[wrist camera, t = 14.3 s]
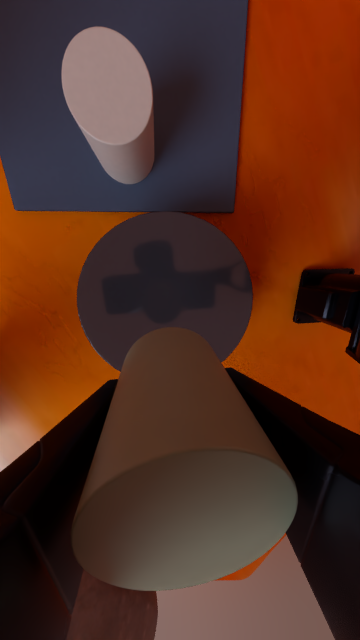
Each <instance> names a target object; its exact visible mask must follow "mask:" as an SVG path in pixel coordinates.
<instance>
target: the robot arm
mask: <svg viewBox="0 0 360 640" xmlns="http://www.w3.org/2000/svg"><path fill="white" fill-rule="evenodd" d="M306 273H307V275H306ZM354 273H355V271H354V269H350V268H347V269H309V270H304V271H303V272H302V274H301V279H300V284H299V290H298V295H297V300H296V305H295V311H294V316H293V322H295V323H298V324H299V323H315V322H323V323H326V324H328V325H331V326H333V327H336V328H339V329H341V330H344V331H347V332H349V333H351V337H350V340H349V344H348V347H346V351H345V352H346V353H347V354H348V355H349V356H351V357H352V358H353V359H354V360H356V361H357V362H358V363H359V364H360V275H354ZM297 319H298V320H297ZM225 370H226V372H227V373H228V375H229V376H230V378H231V380H232V381H233V383H234V384H235V386H236V388H237V389H238V391H239V392H240V394H241V396H242V397H243V399H244V400H245V402H246V404H247V405H248V407H249V408H250V410H251V412H252V413H253V415H254V416H255V418H256V420H257V421H258V423H259V424H260V426H261V428H262V429H263V431H264V432H265V434H266V435H267V437H268V439H269V440H270V442H271V443H272V445H273V447H274V448H275V450H276V451H277V453H278V455H279V456H280V458H281V459H282V461H283V463H284V464H285V466H286V467H287V469H288V471H289V472H290V474H291V476H292V478H293V480H294V482H295V485H296V489H297V493H298V505H297V510H296V513H295V516H294V519H293V521H292V523H291V524H290V526H289V528H288V529H287V531H286V534H287V537H288V539H289V541H290V543H291V545H292V547H293V549H294V552H295V554H296V556H297V558H298V560H299V562H300V563H301V567H302V569H303V571H304V573H305V575H306V578H307V580H308V582H309V584H310V586H311V589H312V591H313V593H314V595H315V597H316V599H317V601H318V604H319V606H320V608H321V610H322V612H323V614H324V617H325V619H326V621H327V623H328V625H329V627H330V629H331V632H332V634H333V636H334V638H335V640H360V435H358V434H356V433H354V432H352V431H350V430H348V429H346V428H344V427H342V426H340V425H338V424H336V423H333V422H331V421H329V420H327V419H326V418H324V417H322V416H320V415H318V414H316V413H314V412H312V411H310V410H308V409H307V408H305V407H301V405H299V404H297V403H295V402H294V401H292V400H290V399H288V398H286V397H284V396H283V395H281V394H279V393H277V392H275V391H273V390H271V389H270V388H268V387H266V386H264V385H262V384H260V383H259V382H257V381H255V380H253V379H251V378H249V377H248V376H246V375H244V374H242V373H240V372H238V371H236V370H235V369H233V368H225ZM117 382H118V379H114V380H109V381H107V382H106V383H105V384H104V385H103V386H102V387H100V388H99V389H98V390H97V391H96V392H95V393H93V394H92V395H91V396H90V397H89V398H88V399H86V400H85V401H84V402H83V403H82V404H81V405H79V406H78V407H77V408H76V409H75V410H74V411H72V412H71V413H70V414H69V415H68V416H67V417H65V418H64V419H63V420H62V421H61V422H60V423H58V424H57V425H56V426H55V427H54V428H53V429H51V430H50V431H49V432H48V433H47V434H45V435H44V436H43V437H42V438H41V439H40V441H37V442H36V443H35V444H34V445H33V446H31V447H30V448H29V449H28V450H27V451H25V452H24V453H23V454H22V455H21V456H19V457H18V458H17V459H16V460H15V461H13V462H12V463H11V464H10V465H9V466H7V467H6V468H5V469H4V470H2V471H1V472H0V640H66V639H67V635H68V631H69V627H70V623H71V619H72V616H71V615H72V614H73V610H74V606H75V602H76V598H77V594H78V590H79V586H80V582H81V578H82V574H83V570H84V569H83V568H82V566H81V565H80V564H79V563H78V562H77V560H76V558H75V556H74V554H73V551H72V547H71V528H72V524H73V520H74V517H75V514H76V510H77V507H78V504H79V501H80V498H81V495H82V492H83V489H84V485H85V482H86V479H87V476H88V473H89V470H90V467H91V464H92V460H93V457H94V454H95V451H96V448H97V445H98V442H99V439H100V435H101V432H102V429H103V426H104V423H105V420H106V417H107V414H108V410H109V407H110V404H111V401H112V398H113V395H114V392H115V389H116V385H117Z"/></svg>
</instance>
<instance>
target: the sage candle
mask: <svg viewBox="0 0 360 640" xmlns="http://www.w3.org/2000/svg"><path fill="white" fill-rule="evenodd" d="M297 505H298V493H297V489H296V485H295V482H294V480H293V478H292V476H291V474H290V472H289V471H288V469H287V467H286V466H285V464H284V463H283V461H282V459H281V458H280V456H279V455H278V453H277V451H276V450H275V448H274V447H273V445H272V443H271V442H270V440H269V439H268V437H267V435H266V434H265V432H264V431H263V429H262V428H261V426H260V424H259V423H258V421H257V420H256V418H255V416H254V415H253V413H252V412H251V410H250V408H249V407H248V405H247V404H246V402H245V400H244V399H243V397H242V396H241V394H240V392H239V391H238V389H237V388H236V386H235V384H234V383H233V381H232V380H231V378H230V376H229V375H228V373H227V372H226V370H225V368H224V367H223V365H222V364H221V362H220V360H219V359H218V357H217V356H216V354H215V352H214V351H213V349H212V348H211V346H210V345H209V343H208V342H207V341H206V340H205V339H204V338H203V337H202V336H200V335H199V334H197V333H195V332H193V331H191V330H188V329H184V328H178V327H167V328H161V329H157V330H154V331H151V332H149V333H147V334H146V335H144V336H142V337H141V338H140V339H138V340H137V341H136V342H135V343H134V344H133V346H132V347H131V348H130V350H129V351H128V353H127V355H126V358H125V360H124V364H123V367H122V370H121V373H120V376H119V379H118V382H117V385H116V389H115V392H114V395H113V398H112V401H111V404H110V407H109V410H108V414H107V417H106V420H105V423H104V426H103V429H102V432H101V435H100V439H99V442H98V445H97V448H96V451H95V454H94V457H93V460H92V464H91V467H90V470H89V473H88V476H87V479H86V482H85V485H84V489H83V492H82V495H81V498H80V501H79V504H78V507H77V510H76V514H75V517H74V520H73V524H72V528H71V547H72V551H73V554H74V556H75V558H76V560H77V562H78V563H79V564H80V565H81V566H82V568H83V569H84V570H86V571H87V572H88V573H89V574H91V575H92V576H94V577H96V578H97V579H99V580H101V581H103V582H106V583H108V584H111V585H114V586H118V587H122V588H127V589H133V590H144V591H160V590H173V589H180V588H186V587H191V586H196V585H199V584H203V583H207V582H210V581H213V580H216V579H219V578H221V577H224V576H226V575H229V574H231V573H233V572H235V571H237V570H239V569H241V568H243V567H245V566H247V565H248V564H250V563H252V562H253V561H255V560H256V559H258V558H259V557H260V556H262V555H263V554H264V553H266V552H267V551H268V550H269V549H270V548H271V547H273V546H274V545H275V544H276V543H277V542H278V541H279V539H280V538H281V537H282V536H283V535H284V533H285V532H286V531H287V529H288V528H289V526H290V524H291V523H292V521H293V519H294V516H295V513H296V510H297Z"/></svg>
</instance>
